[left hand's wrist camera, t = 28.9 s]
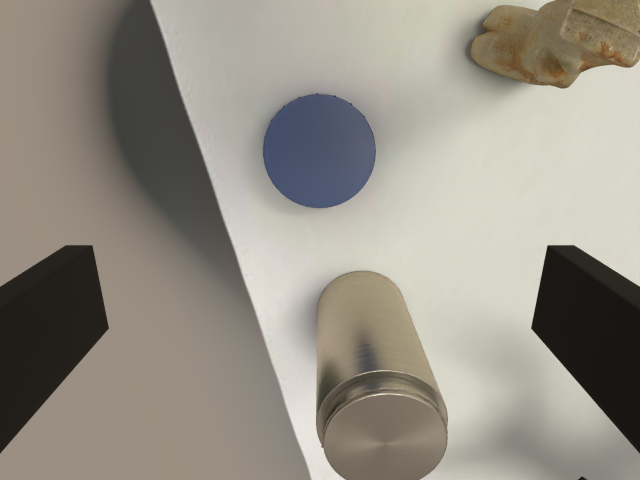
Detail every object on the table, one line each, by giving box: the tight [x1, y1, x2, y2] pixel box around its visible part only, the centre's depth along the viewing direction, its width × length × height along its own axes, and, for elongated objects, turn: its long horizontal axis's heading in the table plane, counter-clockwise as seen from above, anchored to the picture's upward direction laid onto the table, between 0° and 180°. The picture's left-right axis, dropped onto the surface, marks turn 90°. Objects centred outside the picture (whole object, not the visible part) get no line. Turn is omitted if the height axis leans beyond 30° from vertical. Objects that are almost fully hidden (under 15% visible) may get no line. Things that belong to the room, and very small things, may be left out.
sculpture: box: [471, 0, 640, 88], centre depth 29 cm, size 6×7×15 cm
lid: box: [263, 93, 376, 208], centre depth 38 cm, size 10×10×2 cm
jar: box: [316, 271, 448, 480], centre depth 37 cm, size 9×9×18 cm
